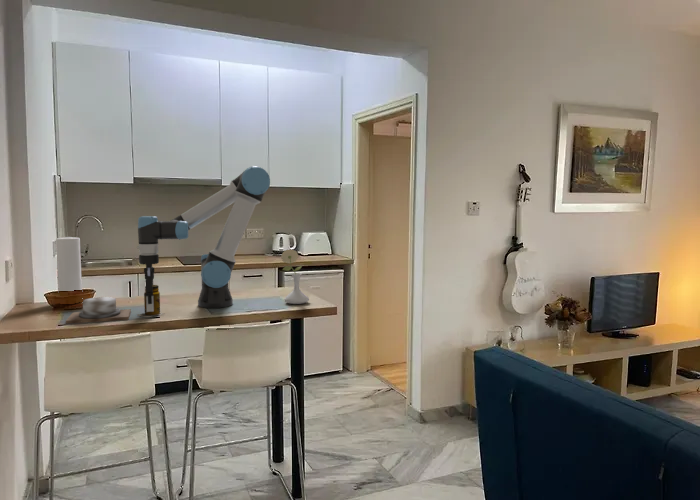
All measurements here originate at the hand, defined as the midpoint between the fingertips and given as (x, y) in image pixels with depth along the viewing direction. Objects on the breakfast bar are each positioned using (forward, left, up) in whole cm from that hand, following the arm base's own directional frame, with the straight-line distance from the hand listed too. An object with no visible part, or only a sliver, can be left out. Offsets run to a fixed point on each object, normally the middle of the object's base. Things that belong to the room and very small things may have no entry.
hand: (150, 309), depth 217 cm
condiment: (0, +1, -2) cm, 2 cm away
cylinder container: (+35, -36, -2) cm, 50 cm away
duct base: (+19, 0, -2) cm, 19 cm away
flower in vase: (-62, -5, -2) cm, 62 cm away
